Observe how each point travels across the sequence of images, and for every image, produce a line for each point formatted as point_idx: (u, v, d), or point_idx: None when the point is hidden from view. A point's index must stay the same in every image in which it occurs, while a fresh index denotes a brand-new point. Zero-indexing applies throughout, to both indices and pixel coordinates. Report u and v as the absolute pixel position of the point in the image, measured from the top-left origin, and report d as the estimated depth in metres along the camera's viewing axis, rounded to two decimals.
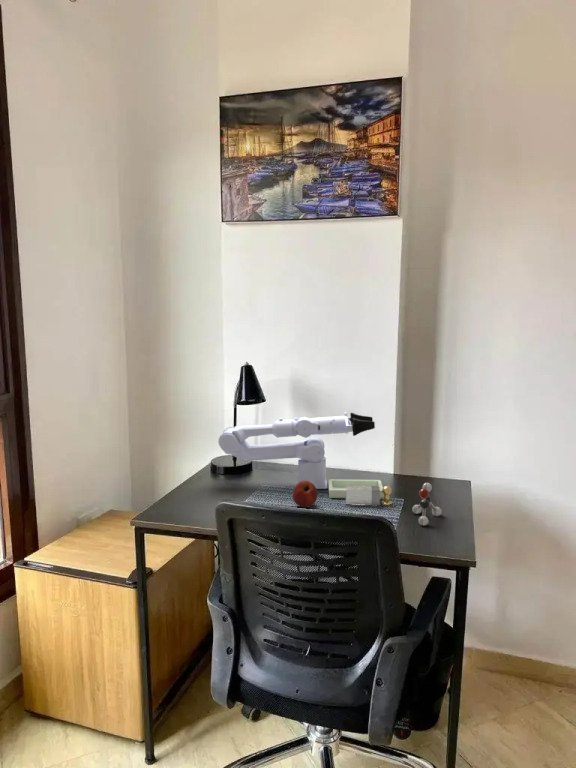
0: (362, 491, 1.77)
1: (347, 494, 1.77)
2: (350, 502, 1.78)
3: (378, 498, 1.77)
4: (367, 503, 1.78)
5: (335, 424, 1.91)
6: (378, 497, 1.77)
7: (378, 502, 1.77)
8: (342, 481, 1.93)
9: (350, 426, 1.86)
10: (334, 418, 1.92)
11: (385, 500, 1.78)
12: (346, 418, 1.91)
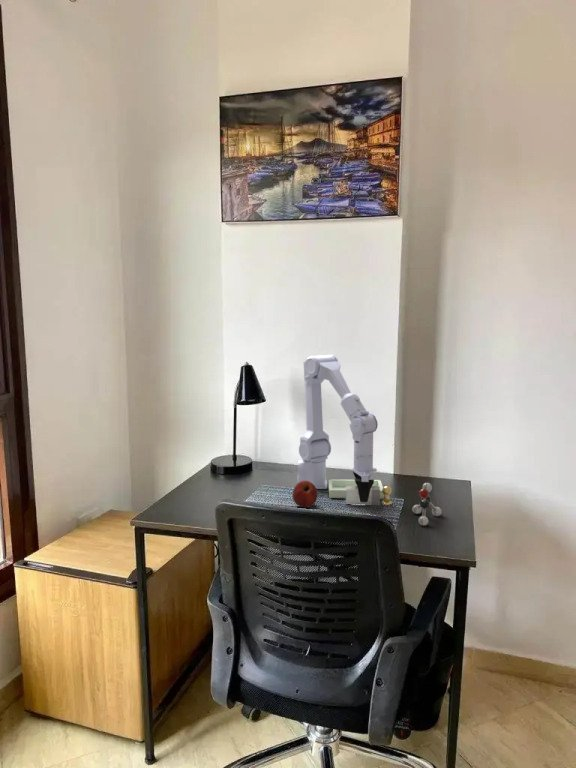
0: None
1: (347, 494, 1.77)
2: (350, 502, 1.78)
3: (378, 498, 1.77)
4: (367, 503, 1.78)
5: (366, 460, 1.74)
6: (378, 497, 1.77)
7: (378, 502, 1.77)
8: (342, 481, 1.93)
9: (367, 479, 1.71)
10: (371, 459, 1.76)
11: (385, 500, 1.78)
12: (371, 472, 1.75)
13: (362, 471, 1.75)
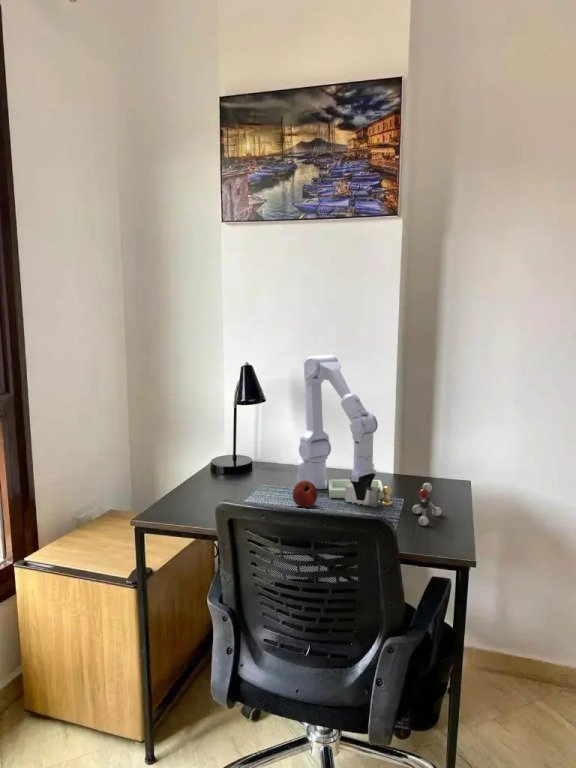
0: None
1: (346, 491, 1.79)
2: (348, 499, 1.79)
3: (374, 499, 1.75)
4: (364, 503, 1.77)
5: (362, 460, 1.75)
6: (374, 498, 1.75)
7: (374, 503, 1.75)
8: (342, 481, 1.93)
9: (356, 479, 1.71)
10: (369, 460, 1.75)
11: (385, 500, 1.78)
12: (367, 473, 1.75)
13: (358, 471, 1.75)
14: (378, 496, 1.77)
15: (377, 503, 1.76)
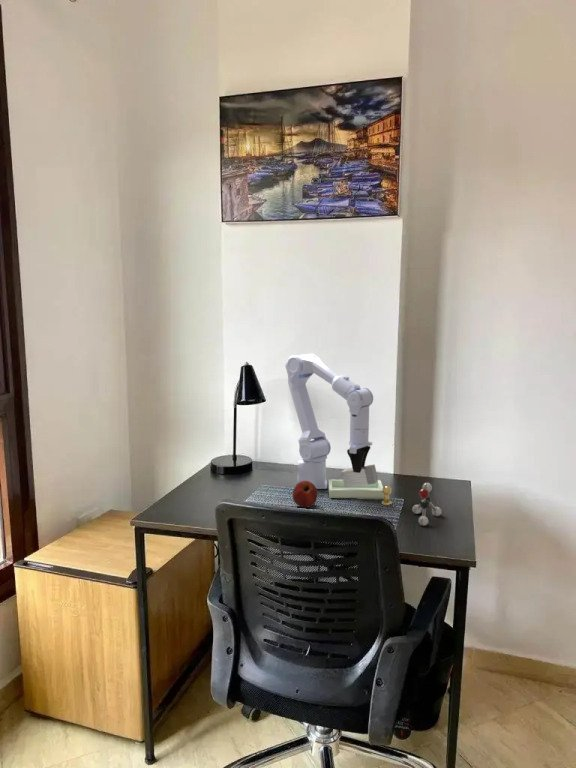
0: None
1: (343, 476, 1.84)
2: (348, 484, 1.84)
3: (372, 476, 1.80)
4: (363, 482, 1.81)
5: (359, 433, 1.79)
6: (372, 475, 1.80)
7: (373, 480, 1.80)
8: (342, 481, 1.93)
9: (354, 451, 1.75)
10: (365, 432, 1.79)
11: (385, 500, 1.78)
12: (364, 445, 1.79)
13: (355, 444, 1.79)
14: (374, 472, 1.82)
15: (375, 479, 1.81)
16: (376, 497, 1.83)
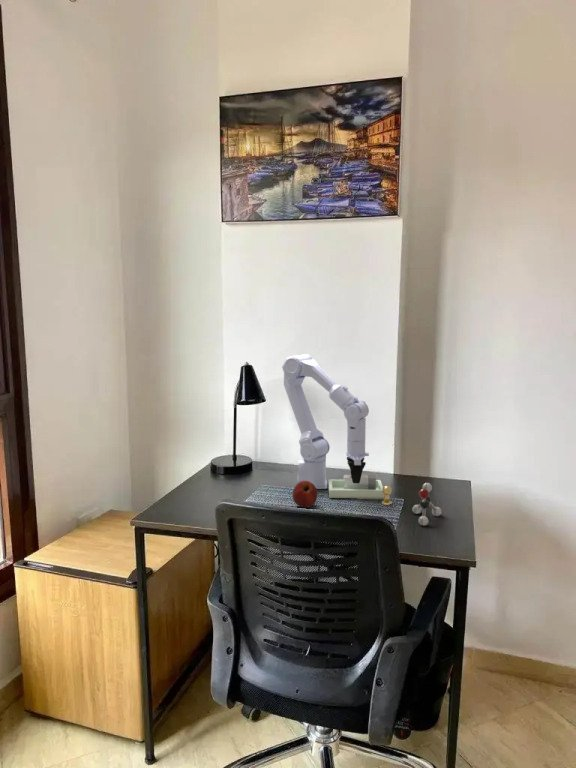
0: None
1: (345, 482, 1.87)
2: None
3: (374, 486, 1.86)
4: None
5: (359, 445, 1.84)
6: (374, 485, 1.86)
7: None
8: (342, 481, 1.93)
9: (359, 463, 1.80)
10: (364, 443, 1.85)
11: (385, 500, 1.78)
12: (364, 456, 1.84)
13: (355, 455, 1.84)
14: None
15: None
16: (376, 497, 1.83)
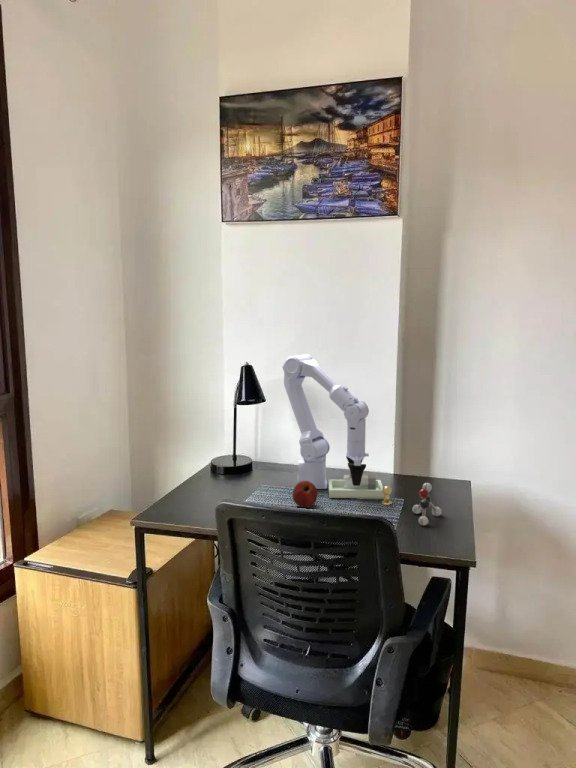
0: None
1: (345, 482, 1.87)
2: None
3: (374, 486, 1.86)
4: None
5: (359, 445, 1.84)
6: (374, 485, 1.86)
7: None
8: (342, 481, 1.93)
9: (359, 463, 1.80)
10: (364, 444, 1.85)
11: (385, 500, 1.78)
12: (364, 456, 1.84)
13: (355, 456, 1.84)
14: None
15: None
16: (376, 497, 1.83)
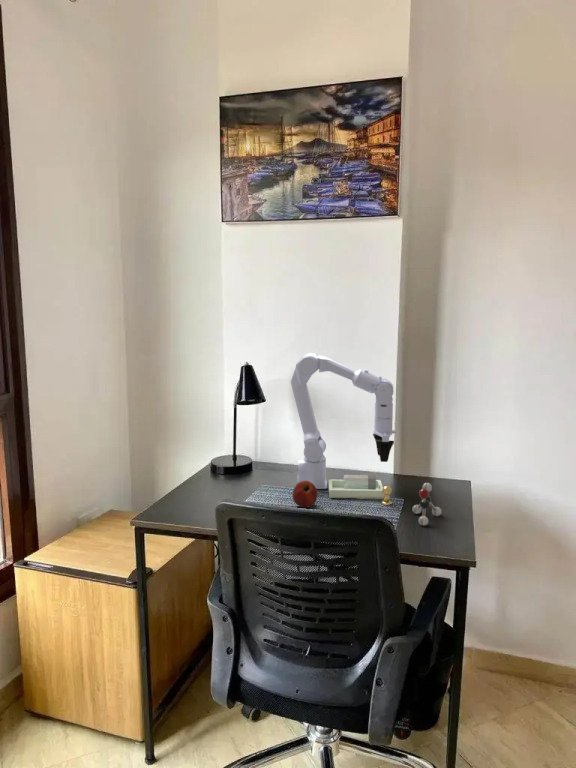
0: (359, 479, 1.86)
1: (345, 482, 1.87)
2: None
3: (374, 486, 1.86)
4: None
5: (386, 422, 1.87)
6: (374, 485, 1.86)
7: None
8: (342, 481, 1.93)
9: (388, 439, 1.83)
10: (391, 421, 1.88)
11: (385, 500, 1.78)
12: (391, 433, 1.88)
13: (382, 432, 1.87)
14: None
15: None
16: (376, 497, 1.83)
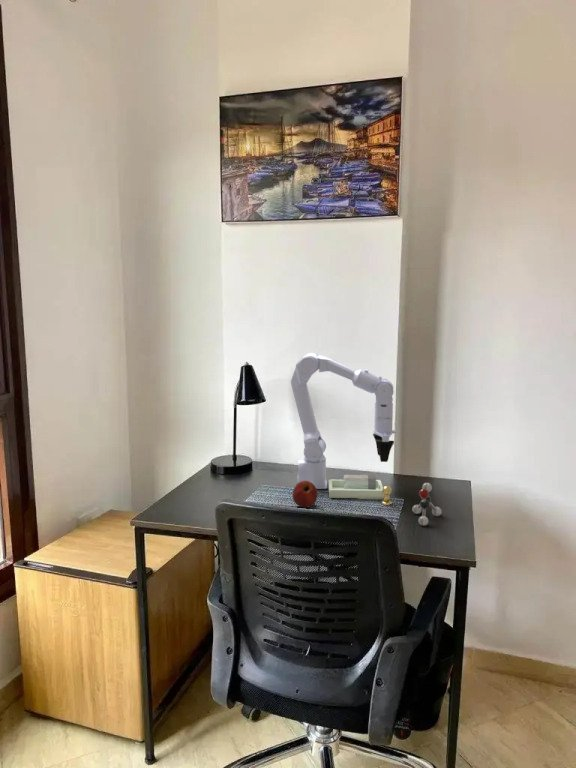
0: (359, 479, 1.86)
1: (345, 482, 1.87)
2: None
3: (374, 486, 1.86)
4: None
5: (386, 422, 1.87)
6: (374, 485, 1.86)
7: None
8: (342, 481, 1.93)
9: (388, 439, 1.83)
10: (391, 421, 1.88)
11: (385, 500, 1.78)
12: (391, 433, 1.88)
13: (382, 432, 1.87)
14: None
15: None
16: (376, 497, 1.83)
